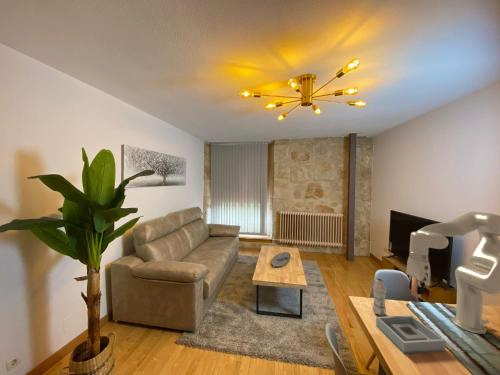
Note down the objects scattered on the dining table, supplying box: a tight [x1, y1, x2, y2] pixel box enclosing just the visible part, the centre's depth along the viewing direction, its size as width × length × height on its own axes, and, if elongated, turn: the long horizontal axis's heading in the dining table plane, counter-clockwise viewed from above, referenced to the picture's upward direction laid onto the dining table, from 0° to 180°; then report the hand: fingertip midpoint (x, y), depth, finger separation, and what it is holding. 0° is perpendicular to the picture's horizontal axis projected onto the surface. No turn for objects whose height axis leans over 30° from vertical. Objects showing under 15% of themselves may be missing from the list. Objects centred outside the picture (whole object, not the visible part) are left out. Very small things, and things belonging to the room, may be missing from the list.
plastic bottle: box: [372, 278, 387, 317], centre depth 122 cm, size 6×7×20 cm
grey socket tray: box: [375, 314, 446, 355], centre depth 103 cm, size 20×18×5 cm
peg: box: [410, 277, 422, 299], centre depth 109 cm, size 4×4×10 cm
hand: (416, 291), depth 109 cm, fingers closed on peg, 4 cm apart
